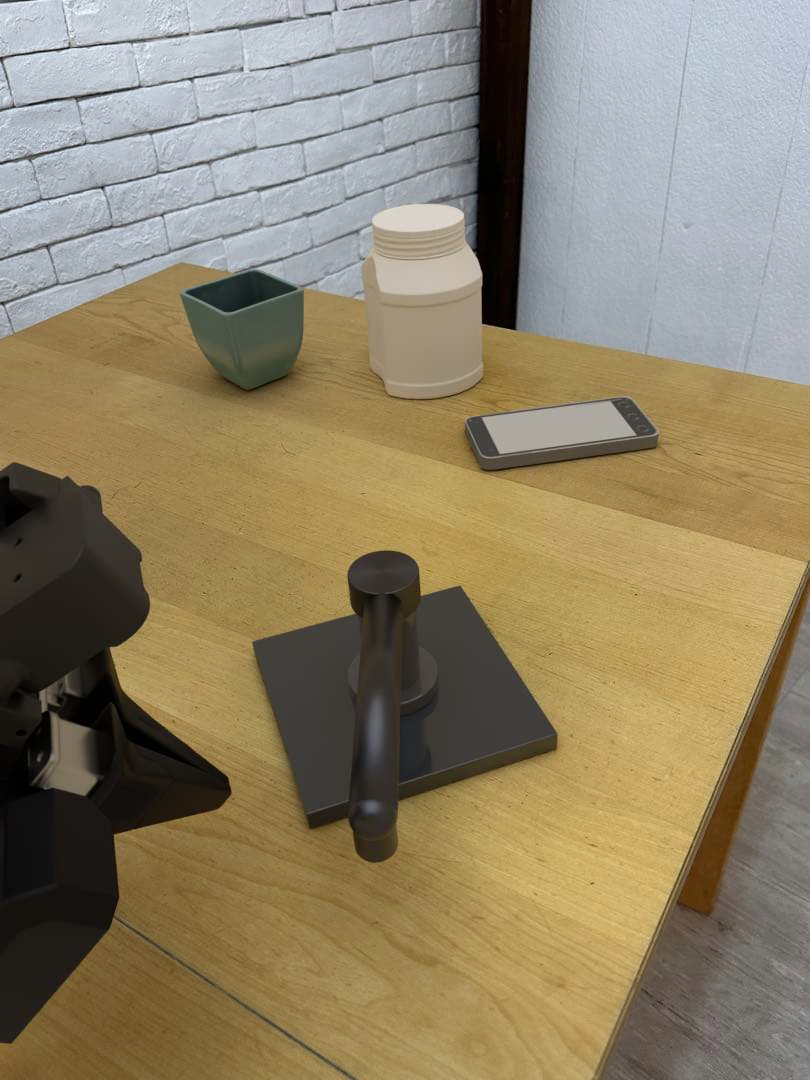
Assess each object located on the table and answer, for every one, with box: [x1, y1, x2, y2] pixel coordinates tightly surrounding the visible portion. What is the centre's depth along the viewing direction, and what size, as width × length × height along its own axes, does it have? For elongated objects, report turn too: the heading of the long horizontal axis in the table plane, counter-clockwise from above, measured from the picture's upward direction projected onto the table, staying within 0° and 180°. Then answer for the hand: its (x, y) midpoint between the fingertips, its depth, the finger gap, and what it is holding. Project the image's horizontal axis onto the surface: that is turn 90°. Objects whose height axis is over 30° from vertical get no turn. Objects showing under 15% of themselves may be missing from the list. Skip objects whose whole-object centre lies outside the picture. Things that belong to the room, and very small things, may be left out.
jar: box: [360, 203, 484, 400], centre depth 84 cm, size 12×10×15 cm
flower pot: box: [178, 268, 305, 391], centre depth 88 cm, size 9×9×9 cm
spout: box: [346, 549, 422, 864], centre depth 43 cm, size 18×4×3 cm, turn 179°
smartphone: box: [464, 395, 660, 471], centre depth 76 cm, size 7×1×15 cm
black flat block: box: [251, 585, 559, 829], centre depth 51 cm, size 14×14×7 cm
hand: (224, 793), depth 36 cm, fingers closed
